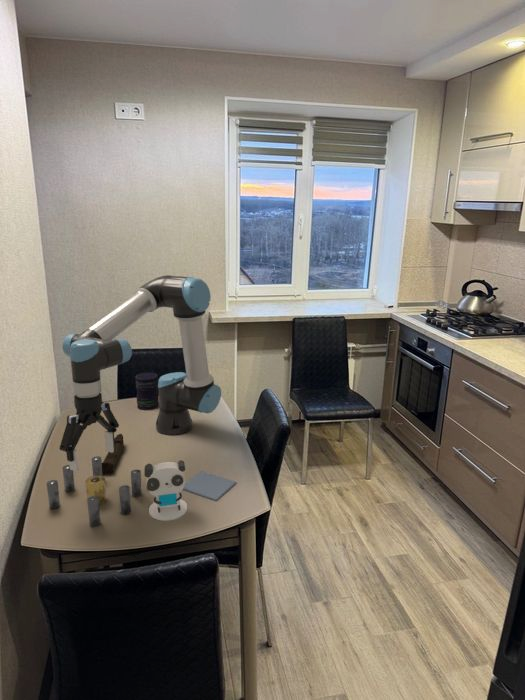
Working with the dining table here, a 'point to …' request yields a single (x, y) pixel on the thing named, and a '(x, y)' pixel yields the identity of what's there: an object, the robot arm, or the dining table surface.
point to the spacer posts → (94, 500)
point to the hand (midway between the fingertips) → (92, 460)
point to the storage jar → (147, 391)
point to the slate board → (208, 485)
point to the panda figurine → (166, 489)
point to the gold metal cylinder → (96, 488)
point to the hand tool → (113, 455)
